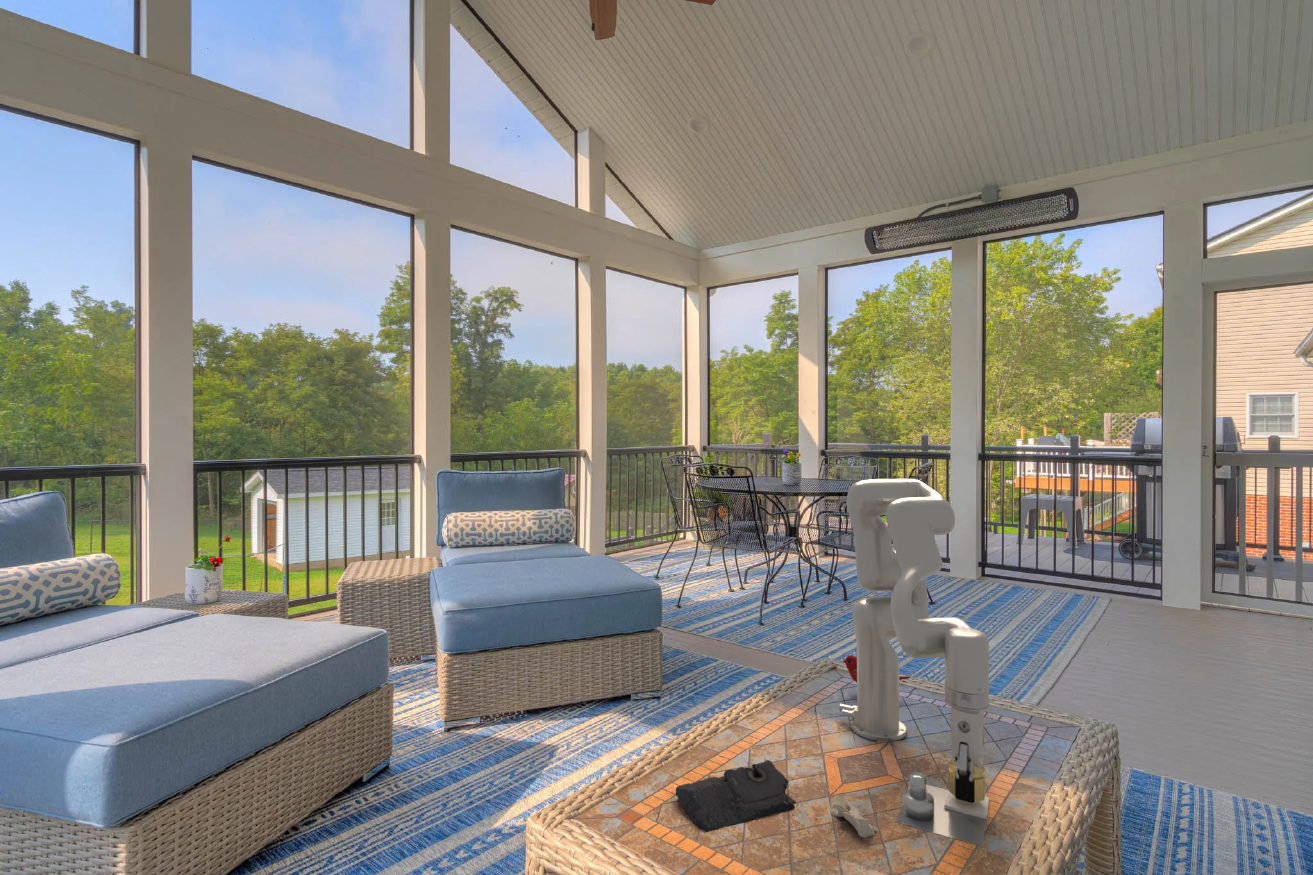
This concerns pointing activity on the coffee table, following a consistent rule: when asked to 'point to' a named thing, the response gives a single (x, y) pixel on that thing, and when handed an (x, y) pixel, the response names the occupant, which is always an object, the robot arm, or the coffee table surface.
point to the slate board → (948, 820)
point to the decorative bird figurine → (852, 667)
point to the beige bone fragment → (851, 816)
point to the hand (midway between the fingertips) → (966, 790)
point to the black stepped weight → (736, 796)
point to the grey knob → (918, 799)
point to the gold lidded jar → (977, 776)
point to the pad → (967, 806)
